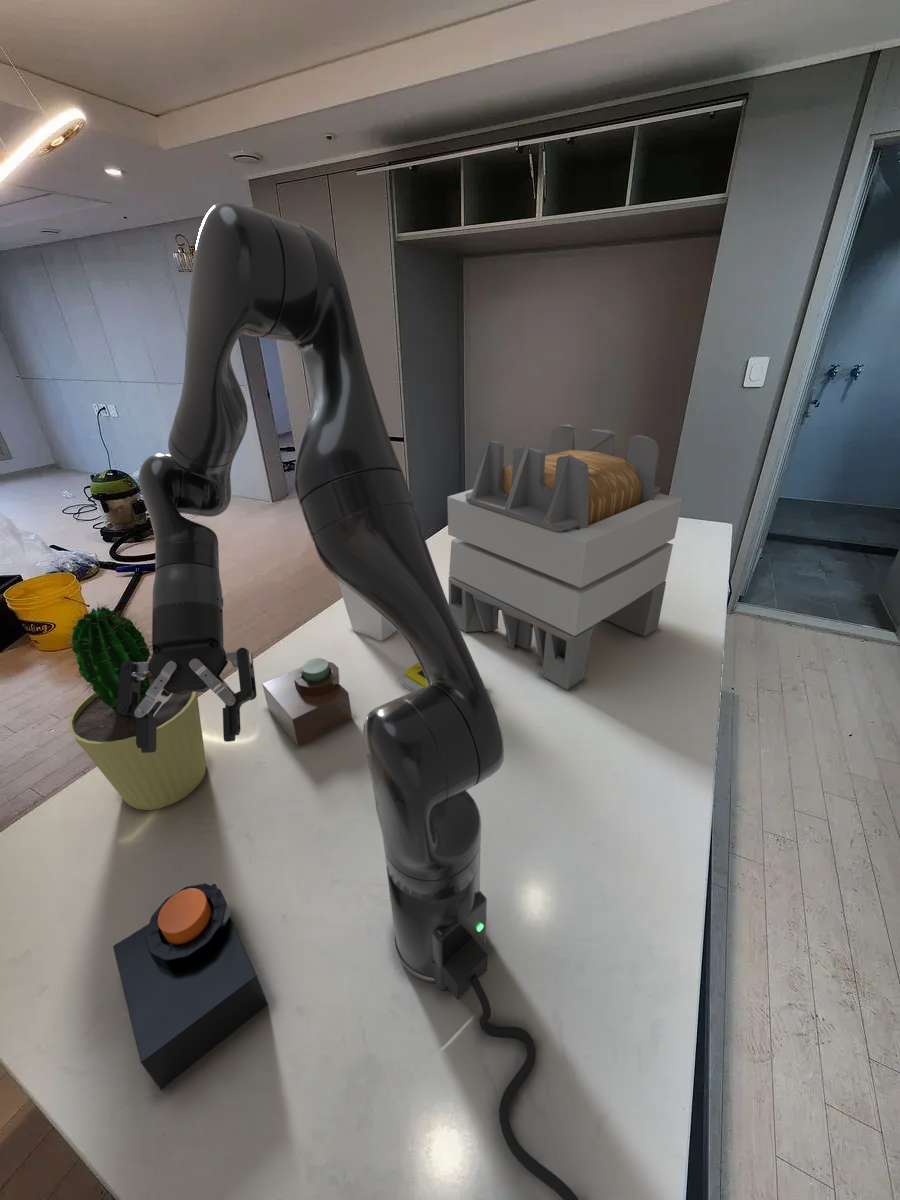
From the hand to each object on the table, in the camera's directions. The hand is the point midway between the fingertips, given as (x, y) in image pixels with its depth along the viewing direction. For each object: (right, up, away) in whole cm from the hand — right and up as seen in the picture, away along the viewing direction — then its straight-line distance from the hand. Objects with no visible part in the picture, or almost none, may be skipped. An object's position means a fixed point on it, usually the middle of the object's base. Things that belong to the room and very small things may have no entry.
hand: (189, 746), depth 57 cm
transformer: (+52, +11, +56) cm, 77 cm away
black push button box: (+3, -24, -5) cm, 24 cm away
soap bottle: (+13, +10, +57) cm, 59 cm away
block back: (+5, -3, +32) cm, 32 cm away
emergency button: (+28, 0, +37) cm, 47 cm away
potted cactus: (-14, -11, +20) cm, 26 cm away
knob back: (+6, +4, +30) cm, 31 cm away
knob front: (+3, -16, -6) cm, 17 cm away
